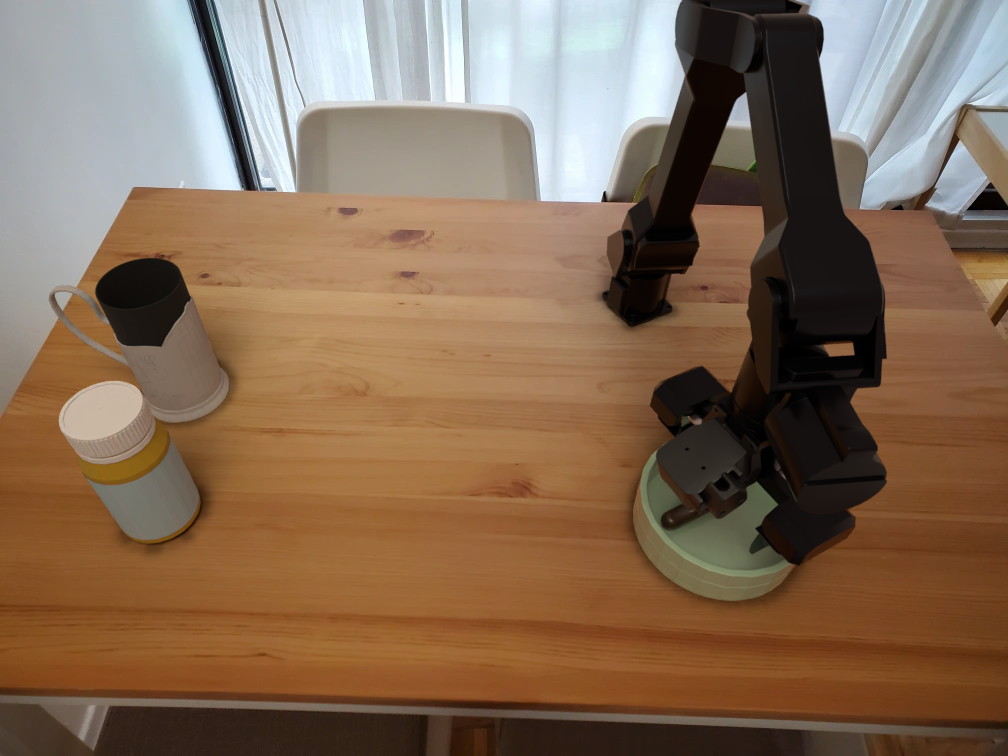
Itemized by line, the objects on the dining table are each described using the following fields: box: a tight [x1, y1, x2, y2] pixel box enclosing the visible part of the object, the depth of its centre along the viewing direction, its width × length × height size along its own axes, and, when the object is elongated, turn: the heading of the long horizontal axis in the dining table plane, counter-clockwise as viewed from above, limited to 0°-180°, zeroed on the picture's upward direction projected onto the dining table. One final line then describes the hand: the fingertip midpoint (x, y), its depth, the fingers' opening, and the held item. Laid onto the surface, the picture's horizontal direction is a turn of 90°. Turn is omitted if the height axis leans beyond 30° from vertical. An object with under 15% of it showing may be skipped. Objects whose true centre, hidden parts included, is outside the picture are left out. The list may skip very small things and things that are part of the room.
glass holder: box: [48, 257, 231, 424], centre depth 72 cm, size 9×14×15 cm, turn 85°
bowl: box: [632, 440, 796, 602], centre depth 66 cm, size 15×15×4 cm
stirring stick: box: [661, 487, 747, 531], centre depth 68 cm, size 10×2×2 cm
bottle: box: [58, 380, 202, 544], centre depth 61 cm, size 7×7×15 cm
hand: (720, 511), depth 66 cm, fingers open, 9 cm apart
